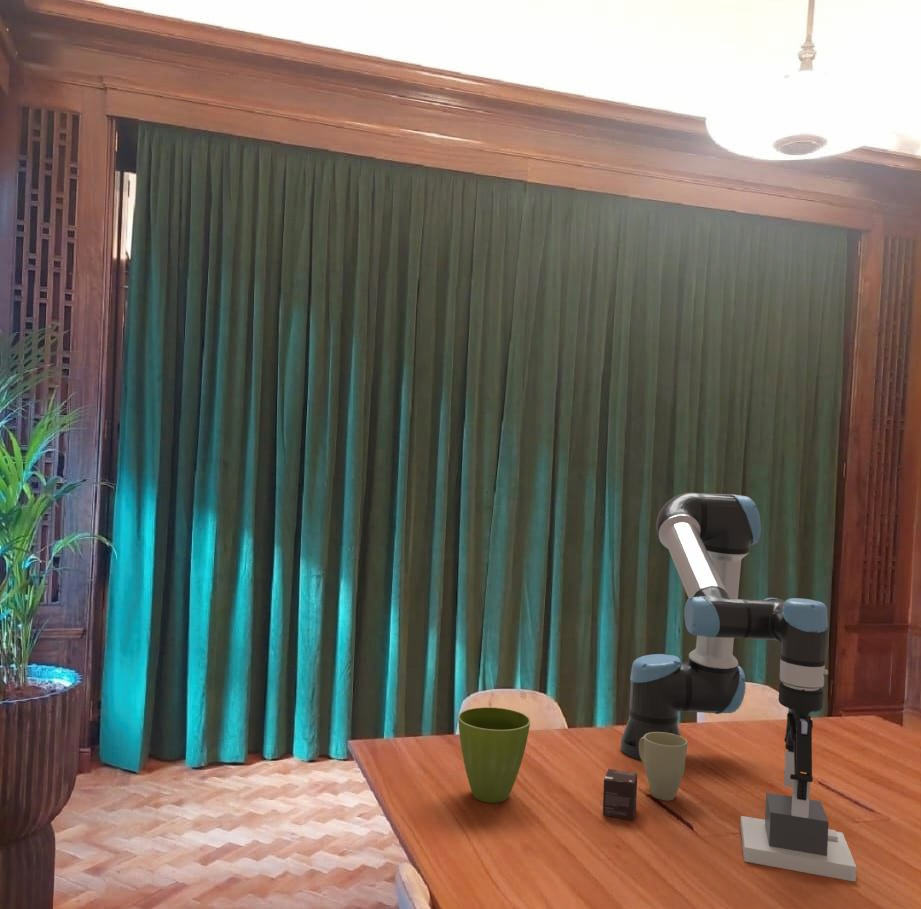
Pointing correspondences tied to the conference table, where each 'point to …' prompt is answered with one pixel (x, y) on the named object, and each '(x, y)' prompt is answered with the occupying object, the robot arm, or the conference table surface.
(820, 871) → the socket
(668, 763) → the mug
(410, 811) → the conference table surface
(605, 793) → the box
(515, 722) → the flower pot
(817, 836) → the plug
